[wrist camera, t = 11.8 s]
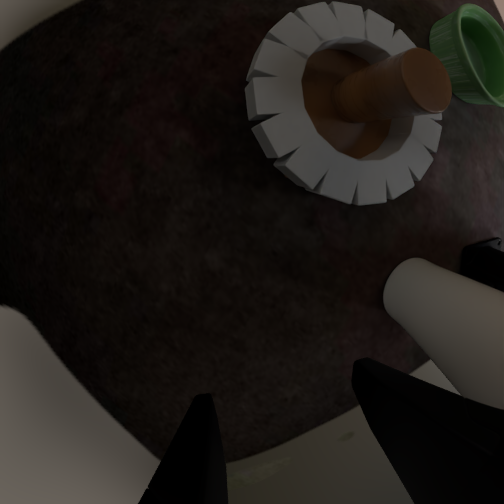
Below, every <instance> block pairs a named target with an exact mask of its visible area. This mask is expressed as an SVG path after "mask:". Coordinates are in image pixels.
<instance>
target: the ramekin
mask: <svg viewBox="0 0 504 504" xmlns="http://www.w3.org/2000/svg"><path fill="white" fill-rule="evenodd" d="M429 43H430V51H431V53H433V54H434V55H435V56H436V57H437V58H438V59H439V60H440V61H441V62H442V64H443V65H444V67H445V69H446V71H447V73H448V75H449V78H450V82H451V87H452V92H453V93H454V94H455V95H456V96H457V97H458V98H460V99H461V100H463V101H465V102H468V103H472V104H491V105H496V106H499V107H503V108H504V31H503V30H502V28H501V27H500V25H499V24H498V23H497V22H496V20H495V19H494V18H493V17H492V16H491V15H490V14H489V13H488V12H486V11H485V10H484V9H482V8H481V7H479V6H477V5H474V4H464V5H462V6H460V7H459V8H458V9H457V10H456V11H455V12H453V13H451V14H450V15H448V16H446V17H444V18H442V19H440V20H438V21H437V22H436V23H435V24H434V25H433V26H432V28H431V31H430V36H429Z"/></svg>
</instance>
